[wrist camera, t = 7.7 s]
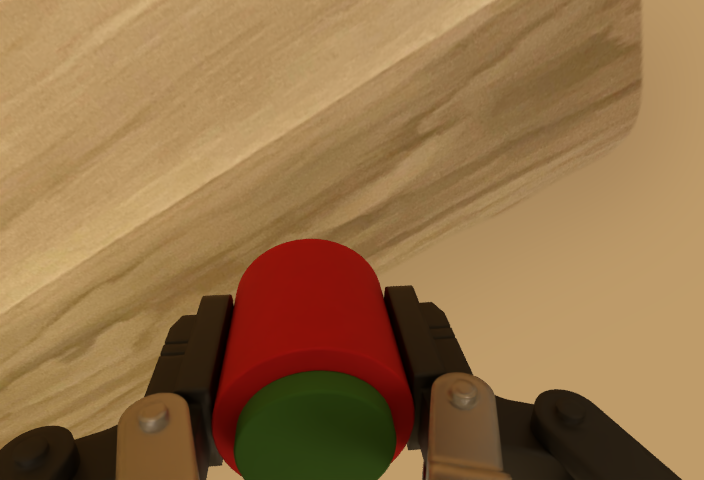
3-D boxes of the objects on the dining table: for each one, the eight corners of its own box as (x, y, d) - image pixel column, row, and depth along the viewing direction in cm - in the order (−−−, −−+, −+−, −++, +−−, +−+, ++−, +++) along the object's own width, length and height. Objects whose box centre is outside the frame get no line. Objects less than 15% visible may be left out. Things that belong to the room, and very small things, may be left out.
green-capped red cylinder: (383, 234, 13) (430, 362, 9) (378, 353, 15) (415, 511, 11) (228, 241, 13) (190, 379, 8) (243, 362, 15) (220, 529, 10)
